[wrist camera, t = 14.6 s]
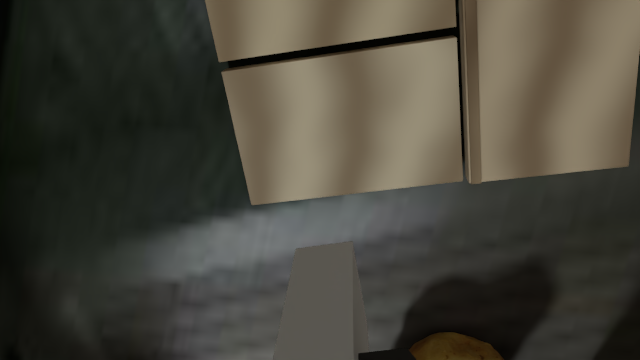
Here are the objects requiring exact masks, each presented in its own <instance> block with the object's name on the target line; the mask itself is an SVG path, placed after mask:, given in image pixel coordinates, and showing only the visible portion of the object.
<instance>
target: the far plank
mask: <svg viewBox="0 0 640 360" xmlns="http://www.w3.org/2000/svg"><path fill="white" fill-rule="evenodd" d="M222 76H223V81H224V85H225V90H226V94H227V98H228V103H229V107H230V112H231V116H232V121H233V125H234V129H235V134H236V138H237V143H238V147H239V151H240V156H241V160H242V165H243V169H244V174H245V178H246V182H247V187H248V191H249V196H250V200H251V204H252V205H258V204H267V203H275V202H284V201H293V200H302V199H310V198H319V197H328V196H336V195H345V194H354V193H363V192H371V191H380V190H389V189H397V188H406V187H415V186H424V185H432V184H441V183H450V182H458V181H463V171H462V148H461V124H460V101H459V77H458V54H457V37H455V36H453V35H451V36H444V37H438V38H431V39H424V40H417V41H411V42H404V43H397V44H390V45H383V46H377V47H370V48H363V49H356V50H350V51H343V52H336V53H329V54H323V55H316V56H309V57H302V58H295V59H289V60H282V61H275V62H268V63H262V64H255V65H248V66H241V67H234V68H228V69H225V70H224V71H222Z"/></svg>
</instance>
